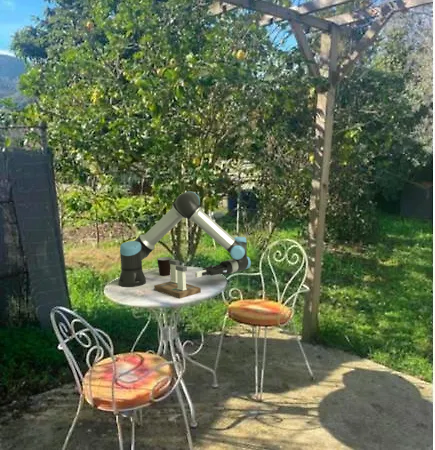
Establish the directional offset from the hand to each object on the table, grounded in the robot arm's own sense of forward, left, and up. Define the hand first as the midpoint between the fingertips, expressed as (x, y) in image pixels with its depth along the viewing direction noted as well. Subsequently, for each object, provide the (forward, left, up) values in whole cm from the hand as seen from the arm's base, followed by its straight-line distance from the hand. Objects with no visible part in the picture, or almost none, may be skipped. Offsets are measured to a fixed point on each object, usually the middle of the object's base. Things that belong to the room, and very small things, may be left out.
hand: (196, 274), depth 233 cm
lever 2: (-6, -7, -6) cm, 11 cm away
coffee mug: (-25, +35, -9) cm, 44 cm away
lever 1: (-13, +6, -6) cm, 16 cm away
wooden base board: (-10, -1, -9) cm, 14 cm away
